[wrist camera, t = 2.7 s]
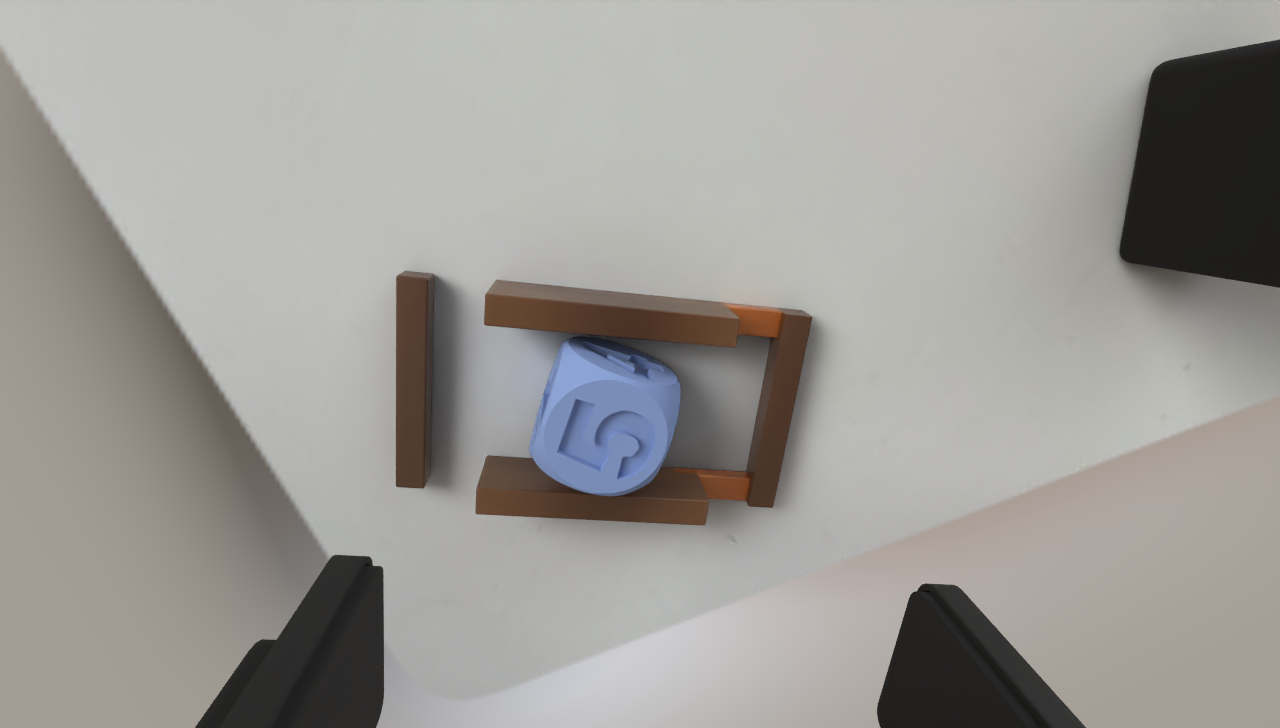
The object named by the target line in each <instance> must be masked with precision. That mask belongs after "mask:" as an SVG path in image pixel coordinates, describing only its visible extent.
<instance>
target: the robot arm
mask: <svg viewBox="0 0 1280 728" xmlns="http://www.w3.org/2000/svg"><path fill="white" fill-rule="evenodd" d="M383 698H384V604H383V568H382V567H381V566H373V564H372V559H371V558H370V557H366V556H346V555H334V556H332V557H331V559H330V560H329V561H328V563H327V564H326V566H325V567H324V569H323V571H322V572H321V573H320V575H319V576H318V578H317V580H316V581H315V582H314V584H313V586H312V587H311V589H310V590H309V592H308V593H307V595H306V596H305V598H304V599H303V601H302V602H301V604H300V605H299V607H298V609H297V610H296V611H295V613H294V614H293V616H292V618H291V619H290V621H289V622H288V624H287V625H286V627H285V628H284V630H283V631H282V633H281V634H280V636H279V637H278V639H277V640H263V639H262V640H260V641H259V642H257V643H256V644H255V645H254V646H253V647H252V648H251V649H250V650H249V651H248V653H247V655H246V656H245V657H244V659H243V660H242V662H241V663H240V664H239V666H238V667H237V669H236V670H235V671H234V673H233V674H232V676H231V677H230V679H229V680H228V681H227V683H226V684H225V686H224V687H223V689H222V690H221V691H220V693H219V695H218V696H217V697H216V699H215V700H214V701H213V703H212V704H211V706H210V708H209V709H208V710H207V712H206V713H205V714H204V716H203V717H202V719H201V720H200V721H199V723H198V724H197V726H196V728H376V726H377V723H378V720H379V717H380V714H381V710H382V705H383ZM877 715H878V721H879V724H880V727H881V728H1086V727H1085V726H1084V725H1083V724H1082V723H1081V722H1080V721H1079V719H1078V718H1077V717H1076V716H1075V715H1074V714H1073V713H1072V712H1071V711H1070V710H1069V708H1068V707H1067V706H1066V705H1065V704H1064V703H1063V702H1062V701H1061V700H1060V699H1059V697H1058V696H1057V695H1056V694H1055V693H1054V692H1053V691H1052V690H1051V688H1050V687H1049V686H1048V685H1047V684H1046V683H1045V682H1044V681H1043V680H1042V678H1041V677H1040V676H1039V675H1038V674H1037V673H1036V672H1035V671H1034V669H1033V668H1032V667H1031V666H1030V665H1029V664H1028V663H1027V662H1026V661H1025V660H1024V658H1023V657H1022V656H1021V655H1020V654H1019V653H1018V652H1017V651H1016V650H1015V649H1014V647H1013V646H1012V645H1011V644H1010V643H1009V642H1008V641H1007V640H1006V638H1004V636H1003V635H1002V634H1001V633H1000V632H999V631H998V630H997V628H996V627H995V626H994V625H993V624H992V623H991V622H990V621H989V620H988V618H987V617H986V616H985V615H984V614H983V613H982V612H981V611H980V610H979V609H978V607H976V605H975V604H974V603H973V602H972V601H971V600H970V599H969V597H968V596H967V595H966V594H965V593H964V592H963V591H962V590H961V589H960V588H958V587H957V586H955V585H944V584H923V585H921V586H920V587H919V589H918V591H917V592H913V593H912V594H911V596H910V598H909V601H908V604H907V608H906V611H905V615H904V618H903V621H902V624H901V628H900V631H899V635H898V639H897V641H896V645H895V648H894V652H893V655H892V658H891V662H890V665H889V668H888V672H887V675H886V679H885V682H884V685H883V689H882V692H881V695H880V699H879V702H878V707H877Z"/></svg>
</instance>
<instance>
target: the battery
mask: <svg viewBox="0 0 1280 728" xmlns="http://www.w3.org/2000/svg"><path fill="white" fill-rule="evenodd" d="M1120 256H1121V258H1122V259H1123V260H1125V261H1127V262H1130V263H1135V264H1140V265H1146V266H1152V267H1158V268H1164V269H1170V270H1176V271H1183V272H1189V273H1195V274H1201V275H1207V276H1213V277H1219V278H1225V279H1231V280H1237V281H1243V282H1249V283H1255V284H1261V285H1267V286H1273V287H1279V288H1280V40H1275V41H1270V42H1264V43H1259V44H1253V45H1248V46H1243V47H1237V48H1232V49H1227V50H1221V51H1216V52H1211V53H1205V54H1200V55H1194V56H1189V57H1184V58H1179V59H1174V60H1169V61H1166V62H1164V63H1162V64H1160V65H1159V66H1157V67H1156V68H1155V70H1154V71H1153V73H1152V76H1151V79H1150V84H1149V90H1148V95H1147V100H1146V106H1145V111H1144V117H1143V122H1142V128H1141V134H1140V139H1139V145H1138V150H1137V156H1136V161H1135V167H1134V172H1133V178H1132V183H1131V189H1130V194H1129V200H1128V205H1127V211H1126V216H1125V222H1124V227H1123V233H1122V239H1121V245H1120Z"/></svg>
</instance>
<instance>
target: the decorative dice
mask: <svg viewBox="0 0 1280 728" xmlns="http://www.w3.org/2000/svg"><path fill="white" fill-rule="evenodd" d="M679 407H680V384H679V381H678V378H677V376H676V375H675V373H674V372H673V371H672V370H671V369H669V368H668V367H667V366H665V365H664V364H662V363H661V362H659V361H657V360H656V359H654V358H652V357H650V356H648V355H646V354H644V353H641V352H639V351H637V350H634V349H632V348H629V347H626V346H623V345H620V344H617V343H614V342H610V341H607V340H602V339H597V338H591V337H574V338H571V339H569V340H567V341H565V342H563V343H562V345H561V347H560V349H559V351H558V354H557V356H556V359H555V362H554V364H553V367H552V370H551V373H550V376H549V379H548V382H547V385H546V388H545V391H544V394H543V397H542V401H541V404H540V407H539V411H538V414H537V418H536V422H535V425H534V429H533V433H532V437H531V442H530V447H529V453H530V455H531V456H532V458H533V460H534V461H535V463H536V464H537V465H538V467H539V468H540V469H541V470H542V471H544V472H545V473H546V474H547V475H549V476H550V477H552V478H553V479H555V480H556V481H558V482H560V483H562V484H564V485H566V486H568V487H571V488H573V489H576V490H579V491H582V492H585V493H589V494H594V495H600V496H620V495H624V494H627V493H630V492H633V491H635V490H638V489H640V488H642V487H644V486H645V485H647V484H648V483H650V482H651V481H652V480H653V479H654V478H655V476H656V475H657V473H658V472H659V470H660V468H661V466H662V464H663V462H664V460H665V457H666V455H667V453H668V450H669V447H670V444H671V441H672V438H673V435H674V431H675V427H676V423H677V419H678V413H679Z"/></svg>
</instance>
